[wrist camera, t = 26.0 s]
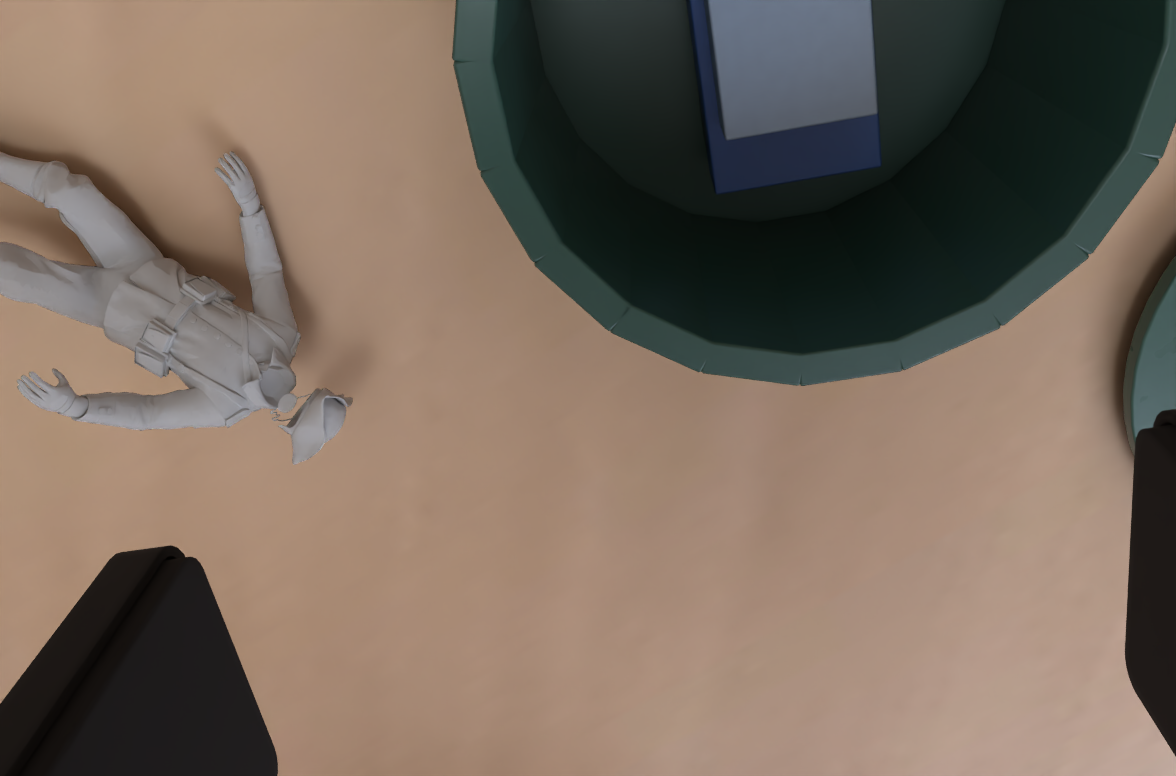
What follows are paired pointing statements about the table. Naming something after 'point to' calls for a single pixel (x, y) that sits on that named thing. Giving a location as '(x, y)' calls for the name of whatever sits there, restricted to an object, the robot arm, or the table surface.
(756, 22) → the toy car
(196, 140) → the table surface
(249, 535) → the table surface
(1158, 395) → the lid
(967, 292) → the tin
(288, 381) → the soldier figure
